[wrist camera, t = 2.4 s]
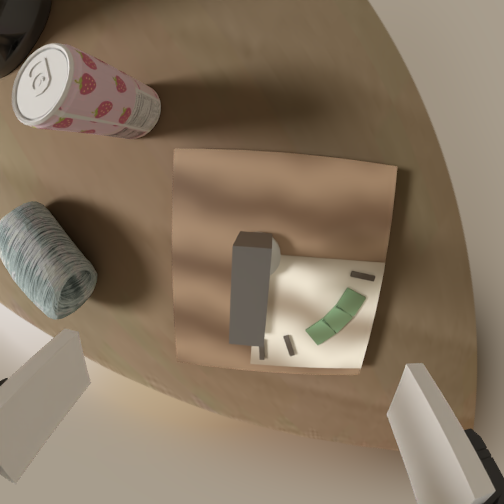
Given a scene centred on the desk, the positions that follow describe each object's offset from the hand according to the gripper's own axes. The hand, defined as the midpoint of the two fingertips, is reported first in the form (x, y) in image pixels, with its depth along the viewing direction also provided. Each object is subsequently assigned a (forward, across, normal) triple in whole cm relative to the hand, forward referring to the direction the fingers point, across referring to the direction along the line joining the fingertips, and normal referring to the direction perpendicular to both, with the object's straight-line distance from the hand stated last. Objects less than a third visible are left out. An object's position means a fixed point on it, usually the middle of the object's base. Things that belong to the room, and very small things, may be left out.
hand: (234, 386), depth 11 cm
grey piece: (+18, 0, -2) cm, 18 cm away
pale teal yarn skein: (+20, -23, -2) cm, 31 cm away
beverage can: (+20, -13, +13) cm, 27 cm away
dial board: (+20, +2, -2) cm, 20 cm away
